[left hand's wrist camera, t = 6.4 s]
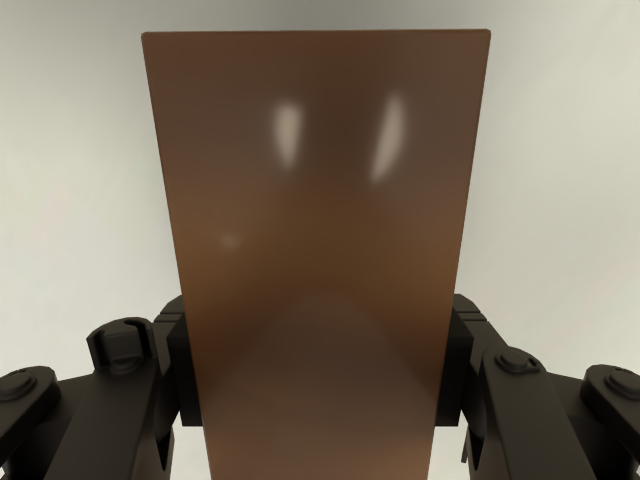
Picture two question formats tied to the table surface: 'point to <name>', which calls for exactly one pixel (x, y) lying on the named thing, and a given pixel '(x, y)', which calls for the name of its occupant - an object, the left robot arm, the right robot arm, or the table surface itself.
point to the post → (317, 237)
